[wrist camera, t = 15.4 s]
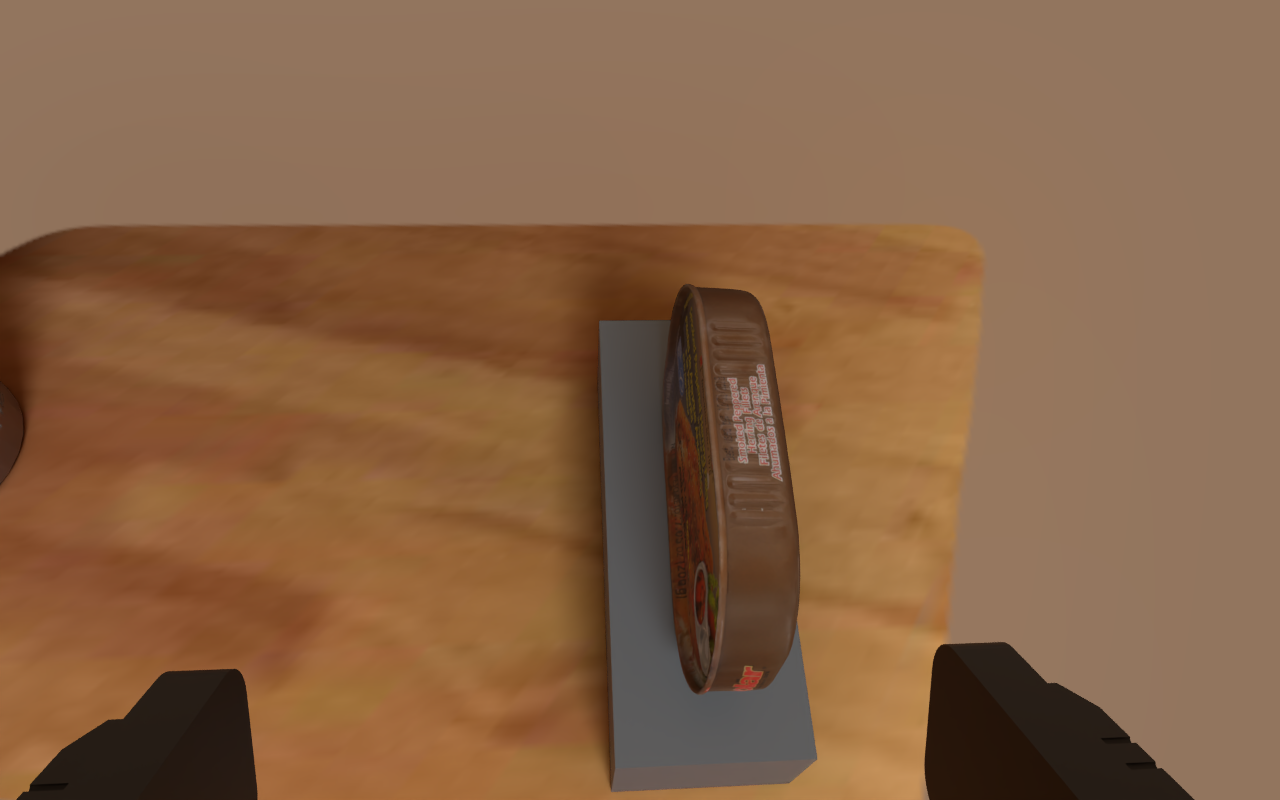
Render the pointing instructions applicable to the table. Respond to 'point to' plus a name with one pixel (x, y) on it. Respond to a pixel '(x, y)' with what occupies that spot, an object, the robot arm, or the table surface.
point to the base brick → (670, 610)
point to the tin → (727, 494)
